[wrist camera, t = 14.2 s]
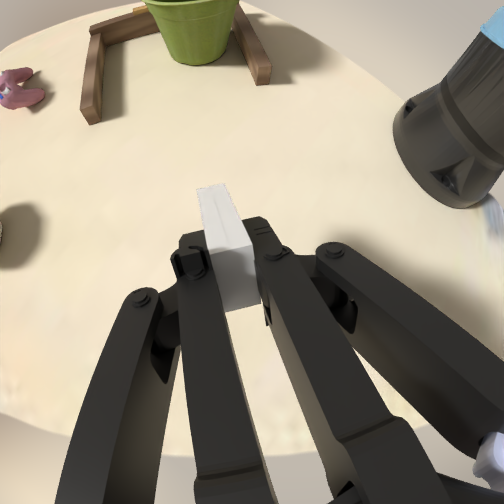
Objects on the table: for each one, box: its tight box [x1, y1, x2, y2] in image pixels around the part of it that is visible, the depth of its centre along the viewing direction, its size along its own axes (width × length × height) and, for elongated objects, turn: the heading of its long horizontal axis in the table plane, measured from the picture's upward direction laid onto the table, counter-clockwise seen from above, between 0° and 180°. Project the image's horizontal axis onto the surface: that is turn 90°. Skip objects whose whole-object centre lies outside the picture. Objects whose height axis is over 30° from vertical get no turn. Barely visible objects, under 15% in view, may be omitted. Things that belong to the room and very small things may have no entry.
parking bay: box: [80, 2, 272, 125], centre depth 29 cm, size 17×21×5 cm
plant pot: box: [141, 0, 239, 65], centre depth 26 cm, size 12×12×11 cm
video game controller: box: [0, 67, 45, 110], centre depth 26 cm, size 10×5×7 cm, turn 42°
